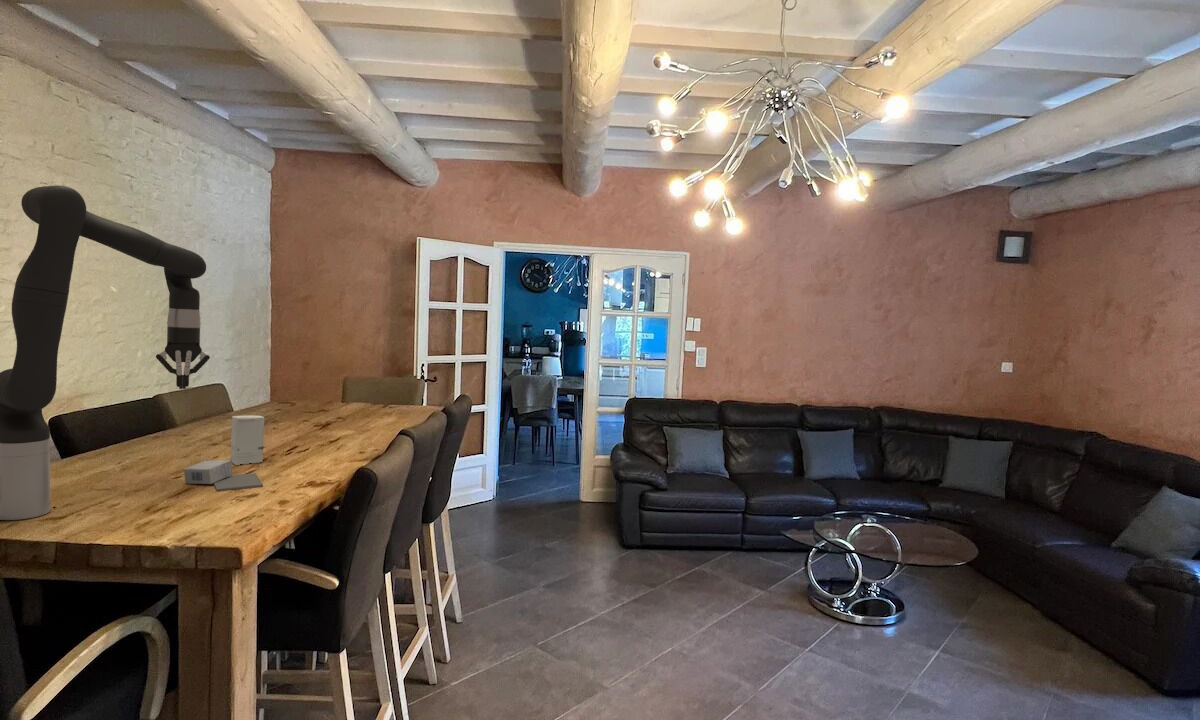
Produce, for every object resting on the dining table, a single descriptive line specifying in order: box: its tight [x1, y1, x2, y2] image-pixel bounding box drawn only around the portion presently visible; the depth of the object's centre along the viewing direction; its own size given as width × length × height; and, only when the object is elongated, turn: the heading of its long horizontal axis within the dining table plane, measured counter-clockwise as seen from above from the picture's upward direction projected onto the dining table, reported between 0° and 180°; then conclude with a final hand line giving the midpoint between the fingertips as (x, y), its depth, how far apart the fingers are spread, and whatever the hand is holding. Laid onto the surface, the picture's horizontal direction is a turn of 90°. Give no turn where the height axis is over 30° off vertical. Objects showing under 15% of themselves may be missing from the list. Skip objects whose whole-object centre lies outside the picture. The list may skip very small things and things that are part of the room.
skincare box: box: [229, 414, 265, 466], centre depth 200 cm, size 8×6×15 cm
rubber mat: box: [213, 472, 264, 492], centre depth 177 cm, size 11×14×1 cm
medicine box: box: [183, 459, 233, 485], centre depth 177 cm, size 8×4×9 cm
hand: (182, 388), depth 174 cm, fingers closed
